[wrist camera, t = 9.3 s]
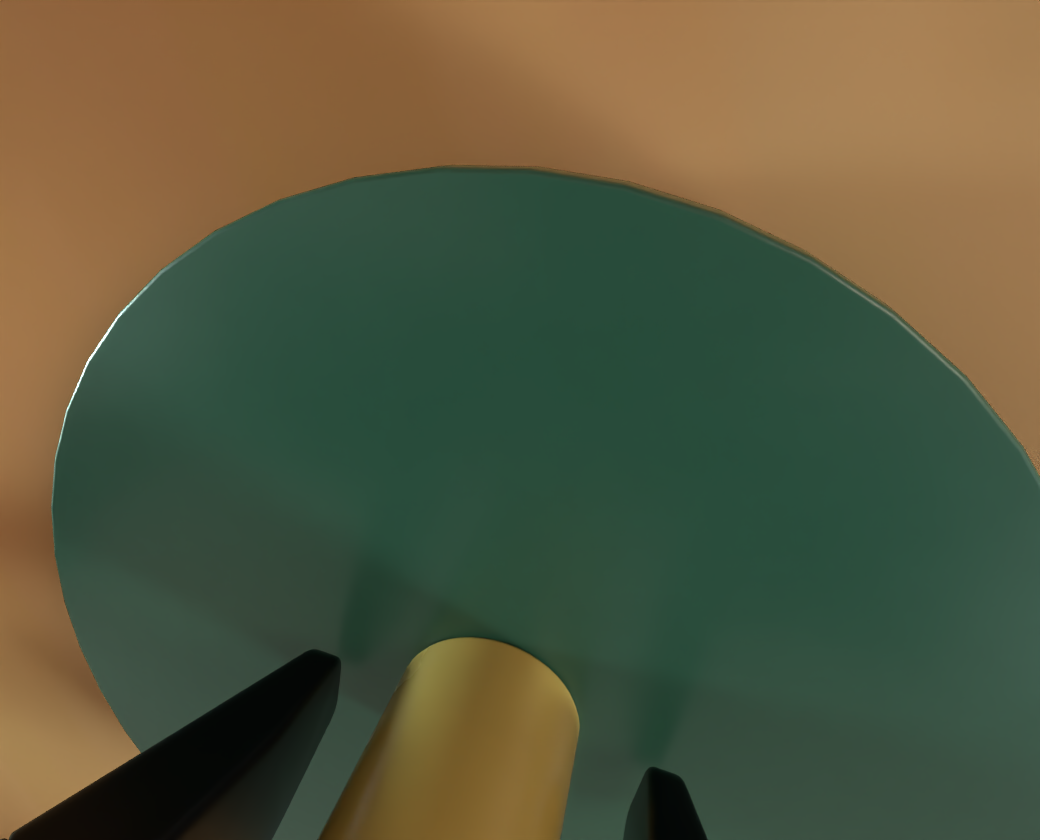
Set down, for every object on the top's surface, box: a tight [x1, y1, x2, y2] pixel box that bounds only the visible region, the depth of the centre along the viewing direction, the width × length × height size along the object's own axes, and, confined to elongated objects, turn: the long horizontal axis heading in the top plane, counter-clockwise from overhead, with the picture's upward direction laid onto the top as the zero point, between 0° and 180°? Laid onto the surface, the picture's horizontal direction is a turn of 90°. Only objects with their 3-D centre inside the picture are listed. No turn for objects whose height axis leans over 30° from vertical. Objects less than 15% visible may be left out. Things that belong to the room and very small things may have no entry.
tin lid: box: [51, 165, 1040, 840], centre depth 7 cm, size 13×13×5 cm
